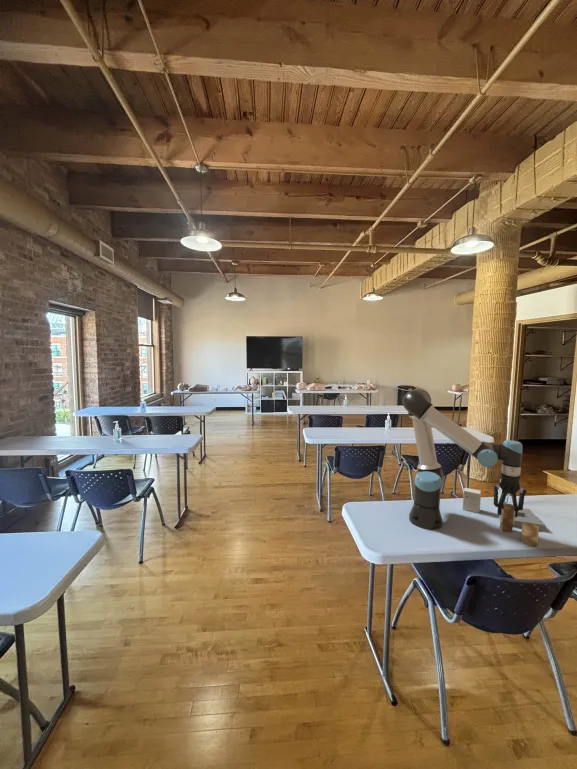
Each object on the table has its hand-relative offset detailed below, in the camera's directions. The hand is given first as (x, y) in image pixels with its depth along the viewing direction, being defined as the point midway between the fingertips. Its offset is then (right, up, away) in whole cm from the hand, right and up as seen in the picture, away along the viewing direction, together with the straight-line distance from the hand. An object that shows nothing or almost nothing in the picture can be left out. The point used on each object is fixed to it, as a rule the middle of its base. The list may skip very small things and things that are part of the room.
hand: (506, 522), depth 159 cm
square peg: (0, -4, 0) cm, 4 cm away
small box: (-5, -2, +22) cm, 22 cm away
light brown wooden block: (+3, -5, -11) cm, 12 cm away
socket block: (+14, -3, +11) cm, 18 cm away
